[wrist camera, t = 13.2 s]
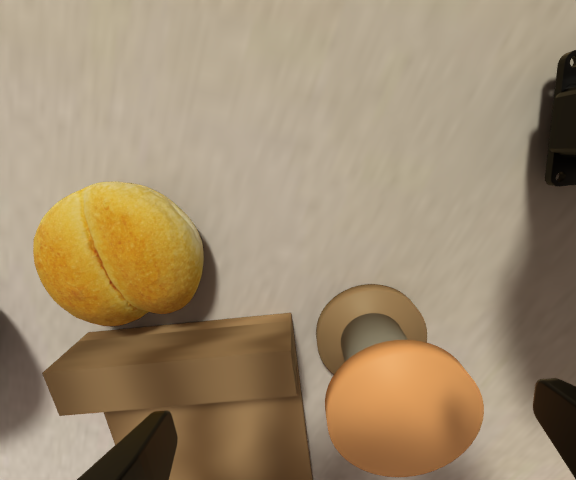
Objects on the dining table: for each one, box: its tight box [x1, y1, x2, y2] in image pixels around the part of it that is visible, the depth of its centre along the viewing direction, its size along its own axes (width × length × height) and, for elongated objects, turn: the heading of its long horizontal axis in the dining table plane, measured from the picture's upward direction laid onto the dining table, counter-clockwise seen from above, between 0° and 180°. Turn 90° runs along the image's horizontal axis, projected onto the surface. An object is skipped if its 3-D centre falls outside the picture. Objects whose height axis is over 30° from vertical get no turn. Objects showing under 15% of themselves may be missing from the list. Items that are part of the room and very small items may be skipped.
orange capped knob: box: [316, 284, 484, 477], centre depth 17 cm, size 7×7×7 cm
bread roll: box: [33, 182, 204, 326], centre depth 17 cm, size 8×9×4 cm
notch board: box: [42, 313, 313, 480], centre depth 21 cm, size 14×18×4 cm
